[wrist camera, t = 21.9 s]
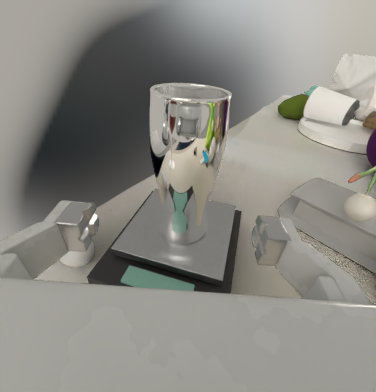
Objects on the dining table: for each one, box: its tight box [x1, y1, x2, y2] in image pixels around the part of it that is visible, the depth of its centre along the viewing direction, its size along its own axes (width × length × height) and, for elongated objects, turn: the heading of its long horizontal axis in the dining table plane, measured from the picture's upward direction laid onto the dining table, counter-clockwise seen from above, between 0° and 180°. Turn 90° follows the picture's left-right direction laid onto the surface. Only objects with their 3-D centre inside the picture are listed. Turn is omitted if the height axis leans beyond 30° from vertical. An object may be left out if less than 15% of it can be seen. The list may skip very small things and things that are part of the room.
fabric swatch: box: [327, 54, 376, 120], centre depth 74 cm, size 24×19×25 cm
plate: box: [298, 117, 374, 154], centre depth 68 cm, size 28×28×2 cm
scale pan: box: [111, 189, 236, 286], centre depth 27 cm, size 12×12×1 cm
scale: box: [87, 191, 241, 294], centre depth 27 cm, size 14×16×3 cm
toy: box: [304, 86, 319, 97], centre depth 107 cm, size 9×9×15 cm
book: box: [278, 178, 376, 274], centre depth 31 cm, size 15×23×4 cm, turn 42°
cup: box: [304, 86, 360, 126], centre depth 68 cm, size 10×10×13 cm
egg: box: [59, 242, 94, 267], centre depth 25 cm, size 4×6×4 cm, turn 49°
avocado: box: [278, 94, 309, 119], centre depth 80 cm, size 9×8×12 cm
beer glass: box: [150, 83, 232, 244], centre depth 22 cm, size 7×7×15 cm
